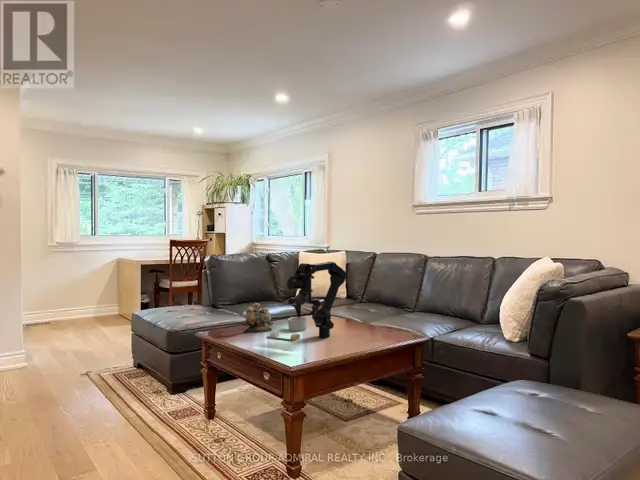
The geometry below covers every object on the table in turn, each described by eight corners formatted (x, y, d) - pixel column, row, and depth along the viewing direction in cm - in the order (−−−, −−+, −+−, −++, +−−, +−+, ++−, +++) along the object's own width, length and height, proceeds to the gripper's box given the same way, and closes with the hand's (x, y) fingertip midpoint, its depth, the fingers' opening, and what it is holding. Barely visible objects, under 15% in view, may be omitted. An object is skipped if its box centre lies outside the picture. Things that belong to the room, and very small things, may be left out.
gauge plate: (277, 335, 246) (277, 331, 246) (306, 339, 237) (306, 335, 237) (262, 341, 234) (262, 336, 234) (292, 345, 225) (292, 340, 225)
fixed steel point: (274, 335, 241) (274, 331, 241) (279, 336, 239) (279, 332, 239) (268, 338, 236) (268, 333, 236) (272, 338, 234) (272, 334, 234)
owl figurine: (246, 336, 244) (245, 305, 244) (238, 333, 255) (238, 303, 254) (276, 333, 253) (276, 302, 253) (268, 329, 264) (267, 300, 263)
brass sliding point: (294, 338, 234) (294, 333, 234) (299, 338, 233) (299, 334, 233) (289, 340, 230) (289, 335, 230) (294, 341, 228) (294, 336, 228)
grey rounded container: (309, 333, 252) (309, 319, 252) (291, 335, 248) (291, 320, 248) (301, 328, 265) (301, 315, 265) (283, 330, 261) (283, 316, 261)
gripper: (281, 288, 225) (282, 319, 226) (314, 290, 217) (314, 323, 217) (293, 286, 235) (293, 315, 235) (324, 288, 226) (325, 318, 227)
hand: (306, 318), depth 228 cm, fingers open, 8 cm apart
